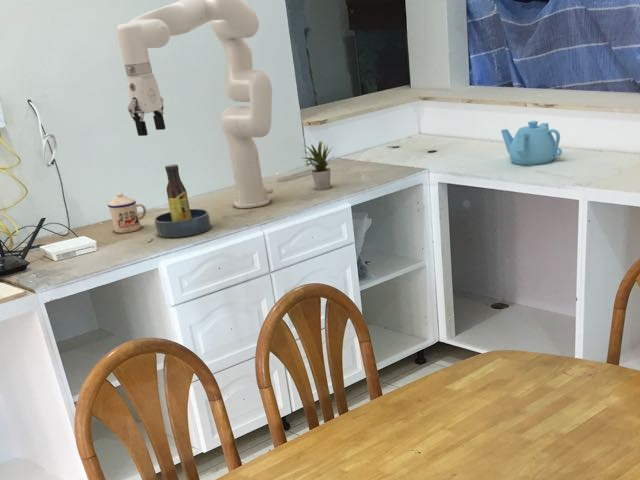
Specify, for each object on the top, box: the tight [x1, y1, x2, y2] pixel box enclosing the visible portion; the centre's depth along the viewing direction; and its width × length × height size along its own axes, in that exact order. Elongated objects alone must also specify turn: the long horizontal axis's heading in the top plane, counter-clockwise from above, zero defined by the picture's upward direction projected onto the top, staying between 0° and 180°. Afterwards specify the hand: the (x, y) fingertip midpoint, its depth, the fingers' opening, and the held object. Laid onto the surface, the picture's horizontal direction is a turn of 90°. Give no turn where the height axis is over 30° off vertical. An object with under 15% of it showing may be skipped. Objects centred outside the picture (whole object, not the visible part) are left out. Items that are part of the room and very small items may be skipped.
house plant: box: [302, 140, 335, 191], centre depth 338 cm, size 14×14×16 cm
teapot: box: [500, 120, 563, 166], centre depth 346 cm, size 19×19×14 cm
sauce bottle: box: [164, 163, 192, 222], centre depth 297 cm, size 6×6×20 cm
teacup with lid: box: [107, 192, 147, 234], centre depth 309 cm, size 12×9×12 cm
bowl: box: [153, 208, 212, 238], centre depth 301 cm, size 17×17×5 cm
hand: (152, 132), depth 285 cm, fingers open, 9 cm apart
